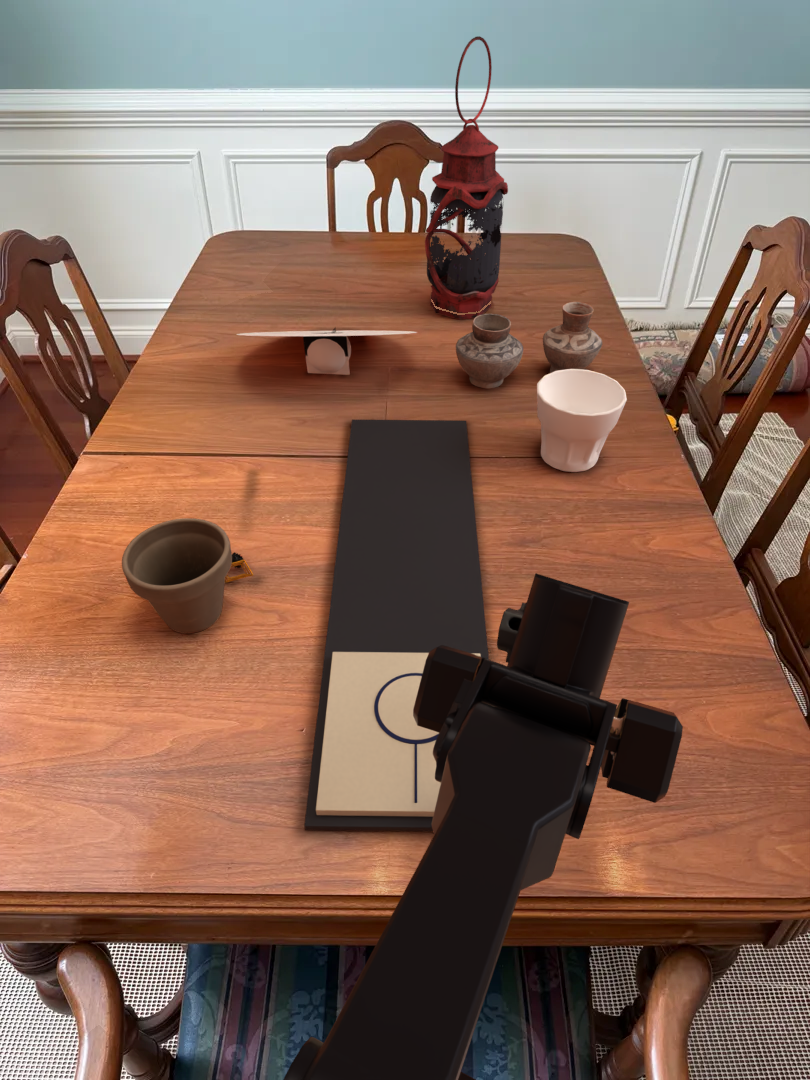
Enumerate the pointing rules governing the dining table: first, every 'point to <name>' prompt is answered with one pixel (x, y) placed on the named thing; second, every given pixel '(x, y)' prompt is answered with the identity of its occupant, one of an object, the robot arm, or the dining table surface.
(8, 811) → the dining table surface
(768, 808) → the dining table surface
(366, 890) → the dining table surface
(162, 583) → the flower pot
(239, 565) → the golden diamond frame ornament
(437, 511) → the long black board
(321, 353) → the cake stand
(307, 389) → the dining table surface
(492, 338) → the pottery
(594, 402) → the cup
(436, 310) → the lantern
